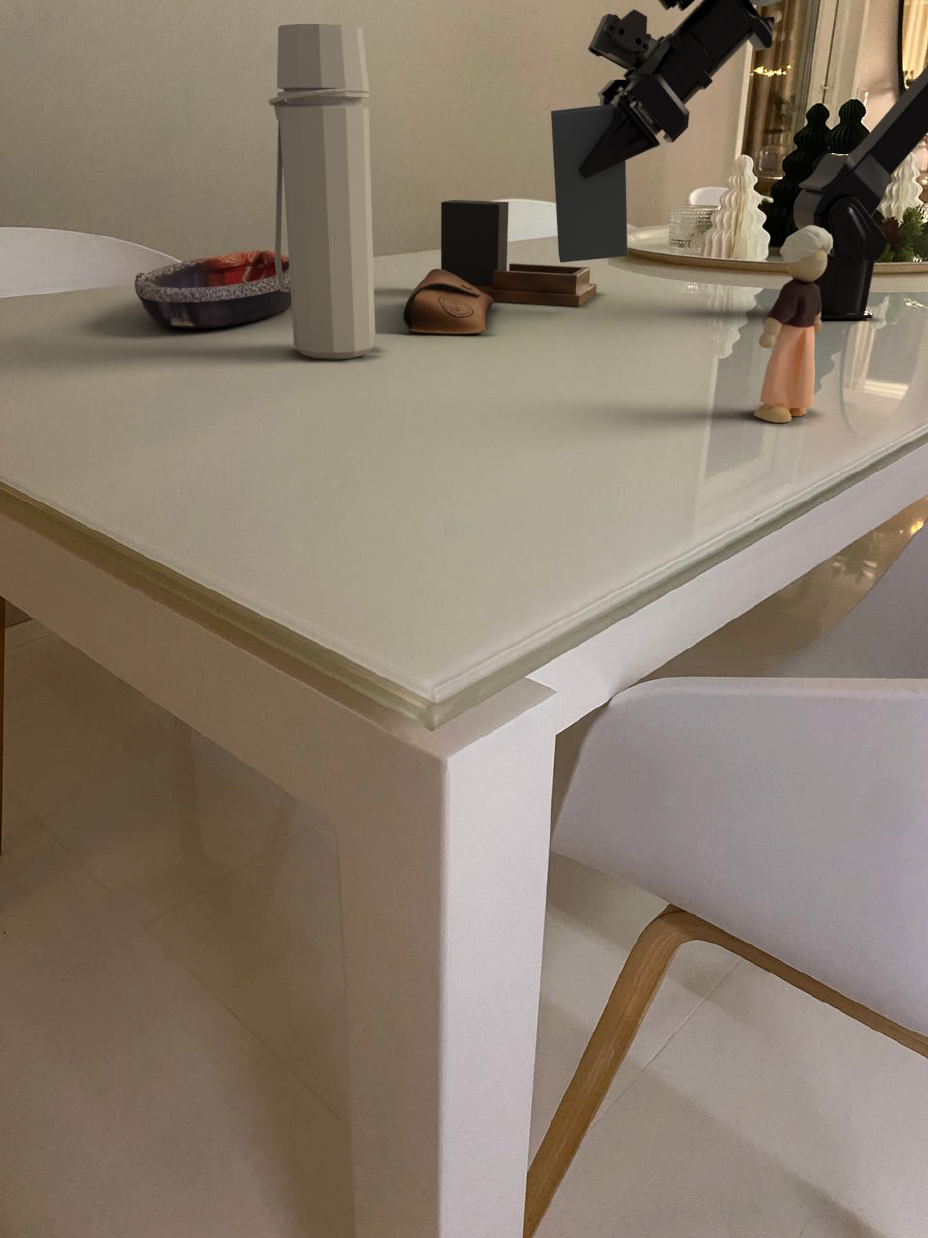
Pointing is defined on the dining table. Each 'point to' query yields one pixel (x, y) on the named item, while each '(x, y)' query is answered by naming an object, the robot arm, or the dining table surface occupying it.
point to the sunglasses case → (446, 306)
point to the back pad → (587, 188)
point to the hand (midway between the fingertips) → (578, 173)
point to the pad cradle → (503, 259)
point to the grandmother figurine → (794, 328)
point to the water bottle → (325, 188)
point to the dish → (215, 290)
